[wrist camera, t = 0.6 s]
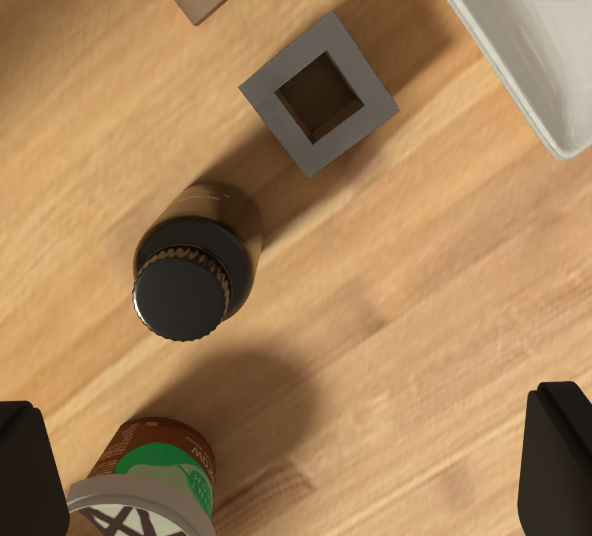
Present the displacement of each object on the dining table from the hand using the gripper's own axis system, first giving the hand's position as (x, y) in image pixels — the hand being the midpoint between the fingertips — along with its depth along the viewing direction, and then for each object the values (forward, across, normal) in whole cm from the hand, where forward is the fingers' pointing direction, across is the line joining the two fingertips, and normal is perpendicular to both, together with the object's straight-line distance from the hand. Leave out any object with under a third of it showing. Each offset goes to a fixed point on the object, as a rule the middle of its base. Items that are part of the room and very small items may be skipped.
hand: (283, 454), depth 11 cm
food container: (+28, +11, +23) cm, 38 cm away
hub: (+29, -1, -4) cm, 29 cm away
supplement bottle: (+29, +7, +4) cm, 30 cm away
